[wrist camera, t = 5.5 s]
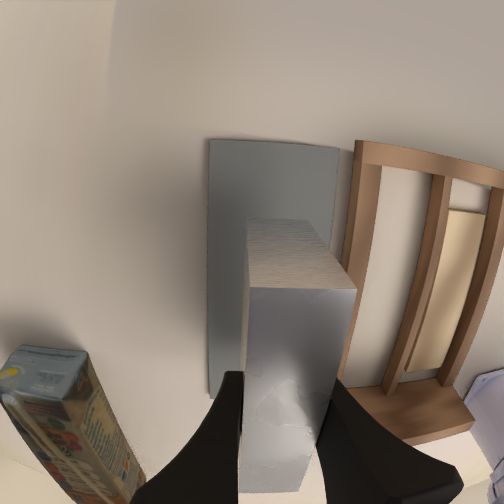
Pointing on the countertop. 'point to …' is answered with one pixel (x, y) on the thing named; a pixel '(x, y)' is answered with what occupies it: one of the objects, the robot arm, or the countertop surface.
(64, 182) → the countertop surface
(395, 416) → the rack
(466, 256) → the offcut top
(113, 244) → the countertop surface
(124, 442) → the beverage carton
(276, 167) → the mat
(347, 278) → the shiny grey metal block
